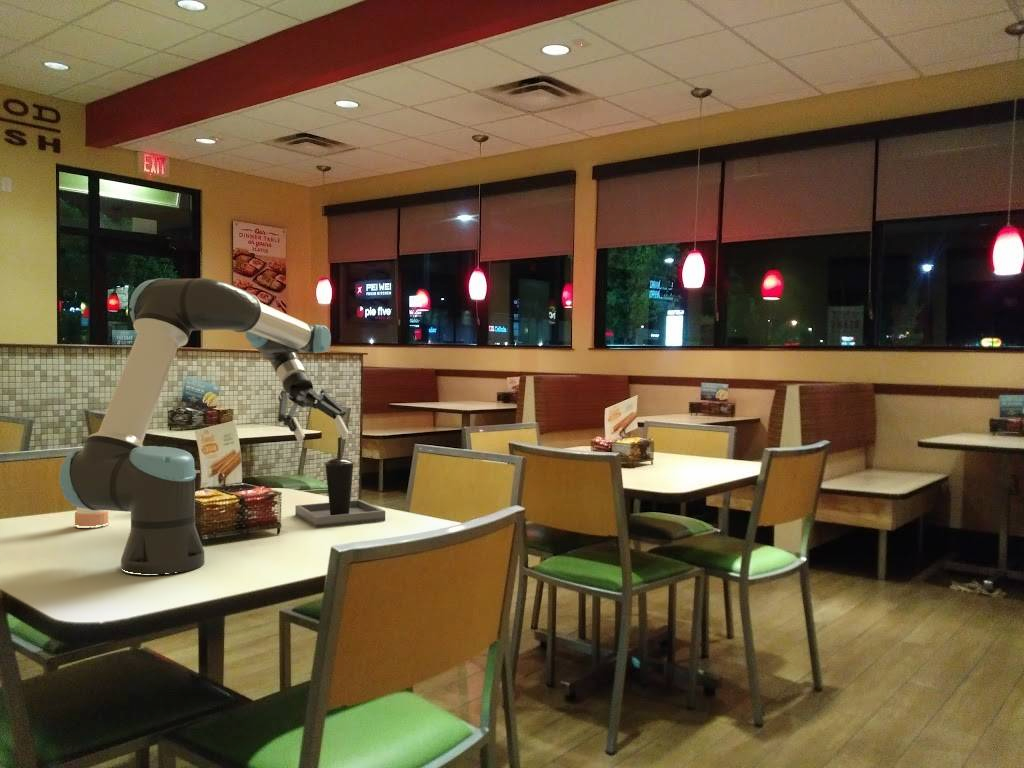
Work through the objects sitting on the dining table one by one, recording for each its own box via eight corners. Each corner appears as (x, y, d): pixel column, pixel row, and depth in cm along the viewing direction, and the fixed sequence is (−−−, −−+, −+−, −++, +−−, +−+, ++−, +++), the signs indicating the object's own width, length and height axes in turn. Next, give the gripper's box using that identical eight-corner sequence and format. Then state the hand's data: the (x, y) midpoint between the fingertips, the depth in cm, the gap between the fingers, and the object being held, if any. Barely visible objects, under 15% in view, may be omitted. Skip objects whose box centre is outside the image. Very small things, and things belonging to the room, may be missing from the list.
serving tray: (316, 527, 192) (316, 517, 192) (295, 514, 207) (295, 505, 207) (385, 520, 201) (385, 510, 201) (360, 508, 217) (360, 499, 217)
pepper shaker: (68, 526, 190) (68, 448, 190) (98, 521, 197) (97, 445, 196) (84, 530, 186) (84, 450, 186) (114, 525, 193) (114, 447, 192)
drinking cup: (351, 517, 201) (350, 439, 200) (321, 517, 201) (320, 439, 200) (357, 511, 208) (357, 436, 208) (328, 511, 208) (328, 436, 208)
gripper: (328, 388, 230) (357, 443, 221) (248, 390, 213) (276, 450, 203) (338, 370, 227) (368, 425, 217) (258, 370, 209) (287, 431, 199)
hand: (324, 437), depth 210 cm, fingers open, 13 cm apart
